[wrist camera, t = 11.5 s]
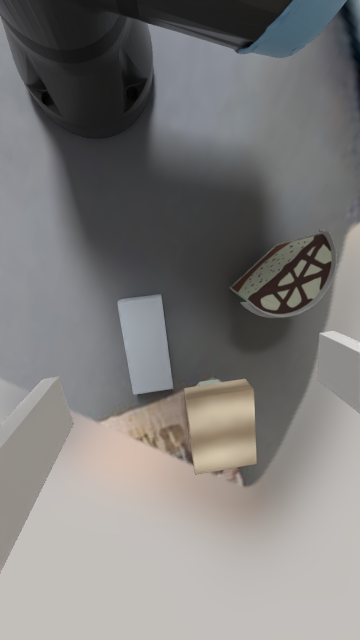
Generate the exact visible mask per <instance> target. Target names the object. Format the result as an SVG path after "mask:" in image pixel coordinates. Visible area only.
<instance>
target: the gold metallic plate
mask: <svg viewBox="0 0 360 640" xmlns="http://www.w3.org/2000/svg"><path fill="white" fill-rule="evenodd" d="M184 393H185V402H186V410H187V419H188V427H189V436H190V445H191V453H192V460H193V466H194V471H195V475H197V474H202V473H208V472H213V471H219V470H224V469H230V468H236V467H241V466H247V465H252V464H257V463H256V436H255V408H254V389H253V388H252V387H251V385H250V384H249V383H248V381H247V380H246V379H240V380H234V381H227V382H221V383H214V384H208V385H201V386H194V387H188V388H184Z"/></svg>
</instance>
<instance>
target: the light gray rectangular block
mask: <svg viewBox="0 0 360 640" xmlns="http://www.w3.org/2000/svg"><path fill="white" fill-rule="evenodd" d="M117 304H118V310H119V316H120V322H121V327H122V333H123V339H124V344H125V350H126V356H127V361H128V367H129V373H130V379H131V384H132V390H133V395H135V394H141V393H148V392H154V391H161V390H168V389H173V383H172V375H171V367H170V359H169V352H168V344H167V336H166V328H165V320H164V313H163V305H162V297H161V294H158V295H150V296H142V297H134V298H125V299H120V300H119V301H118V302H117Z"/></svg>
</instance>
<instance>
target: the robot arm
mask: <svg viewBox="0 0 360 640" xmlns="http://www.w3.org/2000/svg"><path fill="white" fill-rule="evenodd" d="M345 2H346V0H0V16H1V19H2V22H3V25H4V29H5V32H6V35H7V39H8V42H9V45H10V49H11V52H12V55H13V59H14V62H15V65H16V67H17V70H18V72H19V74H20V76H21V78H22V80H23V82H24V84H25V85H26V87H27V89H28V90H29V92H30V93H31V95H32V96H33V97H34V99H35V100H36V102H37V103H38V104H39V106H40V107H41V108H42V109H43V111H44V112H45V113H46V114H47V115H48V116H49V117H50V118H51V119H52V120H53V121H55V122H56V123H57V124H58V125H60V126H61V127H63V128H64V129H66V130H68V131H70V132H72V133H75V134H77V135H81V136H85V137H90V138H103V137H109V136H112V135H115V134H118V133H120V132H122V131H124V130H125V129H127V128H128V127H129V126H130V125H132V124H133V123H134V122H135V121H136V120H137V118H138V117H139V116H140V114H141V113H142V111H143V110H144V108H145V106H146V104H147V101H148V98H149V95H150V92H151V87H152V80H153V52H152V43H151V37H150V33H149V28H148V25H147V23H148V24H152V25H155V26H159V27H163V28H166V29H170V30H173V31H177V32H180V33H184V34H187V35H190V36H193V37H196V38H200V39H203V40H206V41H209V42H213V43H216V44H219V45H222V46H226V47H229V48H232V49H233V50H235V51H236V52H237V53H239V54H248V53H250V52H252V53H257V54H262V55H266V56H271V57H276V58H284V57H288V56H291V55H293V54H295V53H296V52H298V51H299V50H301V49H302V48H303V47H304V46H305V45H306V44H308V43H310V42H311V41H312V40H313V39H314V38H316V37H317V36H318V35H319V33H320V32H321V31H322V30H323V29H324V28H325V27H326V26H327V25H328V23H329V22H330V21H331V20H332V19H333V17H334V16H335V15H336V14H337V12H338V11H339V10H340V8H341V7H342V6H343V4H344V3H345ZM318 381H319V382H320V383H321V384H323V385H324V386H325V387H327V388H328V389H329V390H330V391H332V392H333V393H334V394H336V395H337V396H338V397H340V398H341V399H342V400H343V401H345V402H346V403H347V404H348V405H350V406H351V407H352V408H353V409H355V410H356V411H357V412H359V413H360V342H359V341H356V340H354V339H352V338H349V337H347V336H345V335H342V334H340V333H337V332H335V331H329V332H323V333H319V355H318ZM73 424H74V423H73V421H72V417H71V414H70V411H69V408H68V404H67V401H66V398H65V395H64V392H63V389H62V386H61V382H60V379H59V377H53V378H47V379H42V380H41V381H40V382H39V383H38V385H37V386H36V387H35V388H34V389H33V390H32V391H31V392H30V393H29V394H28V395H27V396H26V398H25V399H24V400H23V401H22V402H21V403H20V404H19V405H18V406H17V407H16V408H15V410H14V411H13V412H12V413H11V414H10V415H9V416H8V417H7V418H6V419H5V420H4V421H3V422H2V424H1V425H0V572H1V570H2V568H3V566H4V564H5V562H6V560H7V558H8V556H9V554H10V552H11V550H12V548H13V546H14V544H15V542H16V540H17V538H18V536H19V534H20V532H21V530H22V527H23V526H24V524H25V522H26V520H27V518H28V516H29V513H30V511H31V509H32V507H33V505H34V503H35V501H36V499H37V497H38V495H39V493H40V491H41V489H42V487H43V485H44V483H45V481H46V479H47V477H48V475H49V473H50V471H51V469H52V467H53V465H54V462H55V461H56V459H57V457H58V455H59V452H60V451H61V449H62V447H63V445H64V443H65V441H66V438H67V436H68V434H69V432H70V430H71V428H72V426H73Z"/></svg>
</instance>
